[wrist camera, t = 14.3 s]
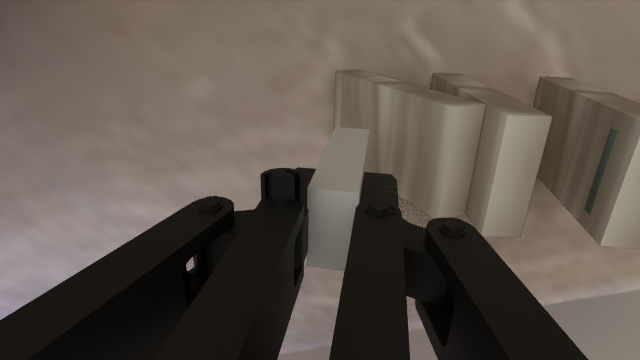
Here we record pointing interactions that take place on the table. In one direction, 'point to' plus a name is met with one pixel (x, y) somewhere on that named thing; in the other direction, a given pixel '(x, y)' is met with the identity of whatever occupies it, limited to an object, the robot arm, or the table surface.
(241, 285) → the robot arm
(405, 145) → the domino
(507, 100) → the domino
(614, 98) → the domino
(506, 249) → the table surface
